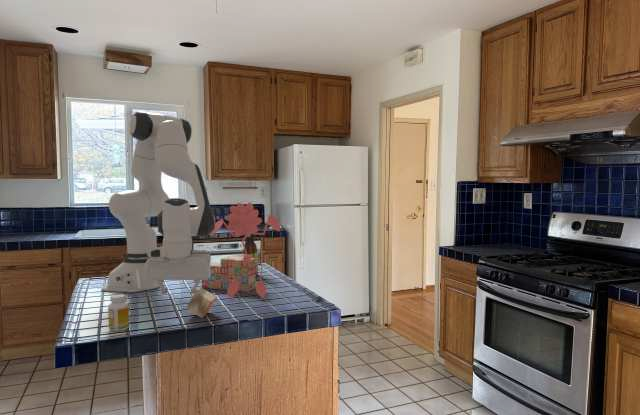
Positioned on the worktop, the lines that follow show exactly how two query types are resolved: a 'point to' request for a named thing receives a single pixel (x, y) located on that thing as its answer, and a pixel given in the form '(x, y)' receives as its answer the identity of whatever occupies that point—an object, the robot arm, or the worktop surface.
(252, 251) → the sauce bottle
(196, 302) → the maple cube
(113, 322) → the supplement bottle
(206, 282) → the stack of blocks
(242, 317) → the worktop surface
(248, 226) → the coral stemmed figure
